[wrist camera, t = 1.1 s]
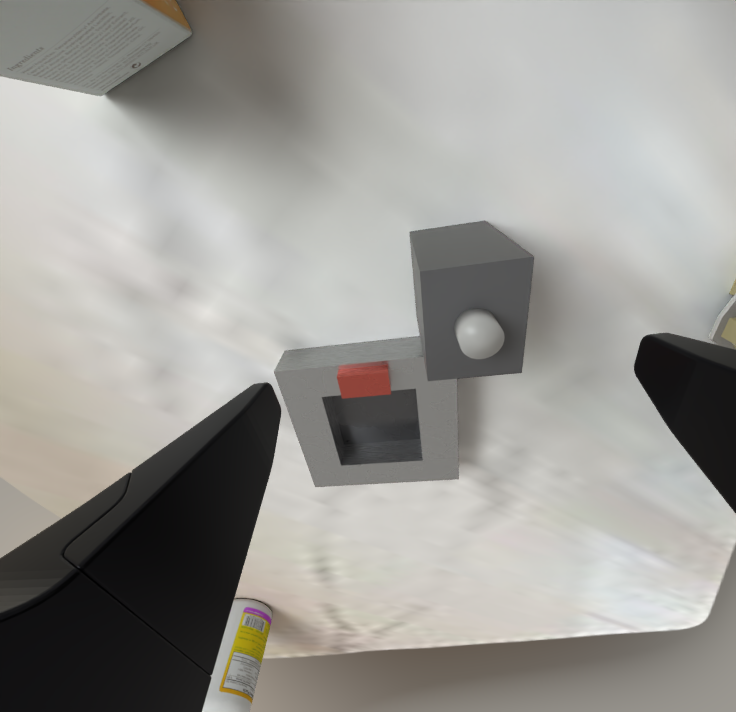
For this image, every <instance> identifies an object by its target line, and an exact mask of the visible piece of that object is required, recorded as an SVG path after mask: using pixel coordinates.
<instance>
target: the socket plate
mask: <svg viewBox="0 0 736 712" xmlns="http://www.w3.org/2000/svg"><path fill="white" fill-rule="evenodd" d="M274 374H275V376H276V379H277V382H278V385H279V388H280V390H281V393H282V396H283V399H284V401H285V404H286V407H287V410H288V412H289V415H290V418H291V421H292V424H293V426H294V429H295V432H296V435H297V437H298V440H299V443H300V446H301V449H302V451H303V454H304V457H305V460H306V462H307V465H308V468H309V471H310V474H311V476H312V479H313V482H314V485H315V487H325V486H343V485H361V484H379V483H398V482H416V481H434V480H452V479H459V465H458V400H457V379H448V380H437V381H428V380H427V374H426V368H425V362H424V357H423V351H422V345H421V339H420V336H418V337H409V338H400V339H390V340H381V341H372V342H363V343H353V344H344V345H335V346H326V347H316V348H307V349H298V350H289V351H284V353H283V355H282V357H281V359H280V361H279V363H278V365H277V367H276V369H275V371H274Z"/></svg>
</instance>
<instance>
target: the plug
mask: <svg viewBox="0 0 736 712" xmlns="http://www.w3.org/2000/svg"><path fill="white" fill-rule="evenodd" d="M410 243H411V255H412V267H413V279H414V291H415V303H416V315H417V321H418V327H419V333H420V339H421V345H422V351H423V357H424V362H425V368H426V374H427V380H428V381H437V380H448V379H459V378H470V377H481V376H492V375H503V374H514V373H522V365H523V356H524V347H525V337H526V328H527V319H528V309H529V300H530V290H531V281H532V272H533V262H534V256H533V255H531V254H530V253H529V252H527V251H526V250H524V249H523V248H522V247H520V246H519V245H518V244H516V243H515V242H514V241H512V240H511V239H509V238H508V237H507V236H505V235H504V234H503V233H501V232H500V231H499V230H497V229H496V228H494V227H493V226H492V225H490V224H489V223H488V222H486V221H480V222H473V223H466V224H459V225H452V226H445V227H439V228H432V229H425V230H418V231H411V232H410Z"/></svg>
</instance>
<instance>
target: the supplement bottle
mask: <svg viewBox="0 0 736 712" xmlns="http://www.w3.org/2000/svg"><path fill="white" fill-rule="evenodd" d="M271 620H272V612H271V610H270V609H269V608H268V607H267V606H266V605H265V604H263V603H261V602H258V601H255V600H250V599H234V601H233V604H232V608H231V611H230V615H229V618H228V622H227V625H226V629H225V632H224V636H223V639H222V643H221V646H220V650H219V653H218V657H217V660H216V663H215V667H214V670H213V674H212V675H211V682H210V685H209V689H208V692H207V696H206V699H205V703H204V706H203V710H202V712H250V708H251V704H252V700H253V696H254V691H255V687H256V683H257V679H258V674H259V670H260V667H261V662H262V658H263V654H264V650H265V646H266V642H267V637H268V633H269V629H270V625H271Z"/></svg>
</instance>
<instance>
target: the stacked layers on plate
mask: <svg viewBox="0 0 736 712" xmlns="http://www.w3.org/2000/svg"><path fill="white" fill-rule="evenodd" d="M729 294H731V295H734V296H733V297H732V299H731V300H730V301H729V302H728V304H727V305H726V306H725V308H724V309H723V310H722V311H721V313H720V314H719V315H718V317H717V319H716V321H715V324H714V326H713V328H712V330H711V333H710V335H709V339H710V340H712V341H713V342H714V343H715V344H716V345H719V346H723V347H727V348H731V349H736V280H735V282H734V284H733V286H732V288H731V291H730V293H729Z"/></svg>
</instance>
